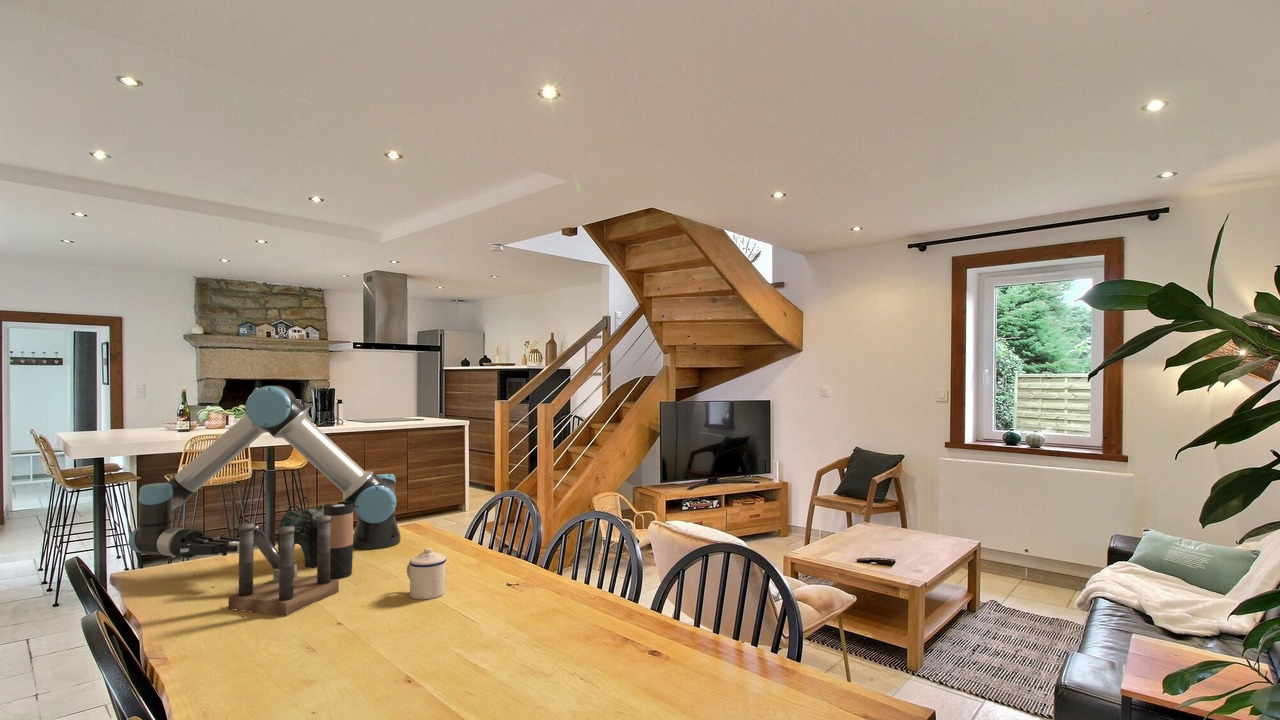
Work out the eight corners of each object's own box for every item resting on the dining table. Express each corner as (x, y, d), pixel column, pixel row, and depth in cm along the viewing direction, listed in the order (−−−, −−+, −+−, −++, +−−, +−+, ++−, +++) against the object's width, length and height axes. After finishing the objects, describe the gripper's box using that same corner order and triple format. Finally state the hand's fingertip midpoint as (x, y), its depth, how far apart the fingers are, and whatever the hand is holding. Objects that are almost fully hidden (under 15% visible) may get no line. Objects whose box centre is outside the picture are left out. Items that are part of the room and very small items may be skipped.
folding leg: (293, 566, 167) (261, 523, 170) (283, 569, 164) (250, 526, 167) (286, 574, 167) (254, 531, 170) (276, 578, 164) (243, 534, 167)
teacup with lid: (453, 591, 164) (454, 546, 164) (426, 602, 156) (426, 555, 156) (421, 584, 170) (421, 540, 170) (393, 594, 162) (393, 548, 162)
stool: (338, 591, 164) (339, 515, 165) (286, 616, 148) (287, 530, 148) (285, 586, 169) (286, 511, 169) (228, 609, 152) (229, 526, 153)
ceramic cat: (329, 565, 187) (329, 497, 187) (307, 571, 182) (308, 501, 182) (291, 555, 198) (292, 491, 198) (270, 560, 192) (271, 494, 193)
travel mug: (344, 580, 174) (345, 506, 174) (317, 579, 174) (317, 506, 174) (357, 571, 181) (358, 501, 182) (331, 571, 181) (332, 501, 182)
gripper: (203, 549, 182) (269, 555, 175) (158, 563, 169) (228, 570, 163) (203, 523, 182) (270, 528, 176) (158, 534, 169) (228, 540, 163)
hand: (249, 548), depth 169 cm, fingers closed
